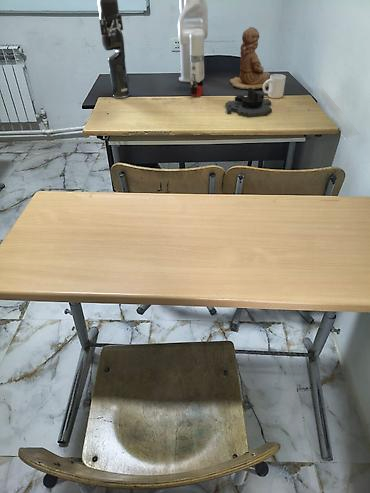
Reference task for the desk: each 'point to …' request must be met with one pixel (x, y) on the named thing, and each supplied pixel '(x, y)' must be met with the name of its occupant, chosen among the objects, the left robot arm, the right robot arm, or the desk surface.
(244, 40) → the sculpture
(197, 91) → the brick
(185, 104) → the desk surface
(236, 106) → the abstract sculpture
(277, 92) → the mug
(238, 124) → the desk surface
